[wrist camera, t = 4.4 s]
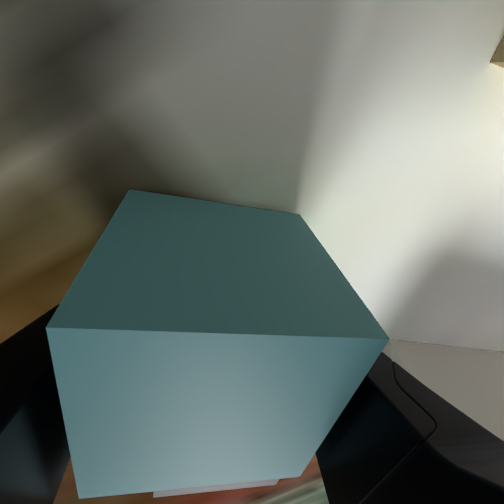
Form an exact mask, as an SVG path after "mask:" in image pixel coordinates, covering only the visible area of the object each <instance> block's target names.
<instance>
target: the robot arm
mask: <svg viewBox="0 0 504 504" xmlns="http://www.w3.org/2000/svg"><path fill="white" fill-rule="evenodd" d="M59 305H60V304H58V305H57V306H55V307H54V308H52V309H51V310H49V311H48V312H46V313H45V314H43V315H42V316H41V317H39V318H38V319H36V320H35V321H33V322H32V323H30V324H29V325H27V326H26V327H24V328H23V329H21V330H20V331H18V332H17V333H15V334H14V335H13V336H11V337H10V338H8V339H7V340H5V341H4V342H2V343H1V344H0V504H53V502H54V499H55V496H56V494H57V491H58V488H59V486H60V483H61V481H62V478H63V475H64V473H65V470H66V467H67V465H68V462H69V459H70V457H71V455H70V450H69V445H68V440H67V434H66V429H65V424H64V419H63V414H62V409H61V403H60V398H59V393H58V388H57V383H56V378H55V372H54V367H53V362H52V357H51V352H50V347H49V341H48V336H47V331H46V326H47V325H48V323H49V321H50V320H51V318H52V316H53V315H54V313H55V311H56V310H57V308H58V306H59ZM315 453H316V457H317V460H318V464H319V468H320V471H321V475H322V479H323V482H324V486H325V490H326V493H327V497H328V501H329V504H504V441H503V440H501V439H500V438H498V437H497V436H495V435H494V434H493V433H491V432H490V431H488V430H487V429H485V428H484V427H483V426H481V425H480V424H478V423H477V422H476V421H474V420H473V419H471V418H470V417H469V416H467V415H466V414H464V413H463V412H462V411H460V410H459V409H457V408H456V407H454V406H453V405H452V404H450V403H449V402H447V401H446V400H445V399H443V398H442V397H440V396H439V395H438V394H436V393H435V392H434V391H432V390H431V389H429V388H428V387H427V386H425V385H424V384H423V383H421V382H420V381H419V380H417V379H416V378H415V377H414V376H412V375H411V374H410V373H408V372H407V371H406V370H405V369H403V368H402V367H401V366H400V365H398V364H397V363H396V362H395V361H392V359H391V358H389V357H388V356H387V355H386V354H384V353H383V352H381V353H380V355H379V356H378V358H377V359H376V361H375V362H374V364H373V365H372V367H371V368H370V370H369V372H368V373H367V375H366V376H365V378H364V379H363V381H362V382H361V384H360V385H359V387H358V388H357V390H356V391H355V393H354V394H353V396H352V397H351V399H350V401H349V402H348V404H347V405H346V407H345V408H344V410H343V411H342V413H341V414H340V416H339V417H338V419H337V420H336V422H335V423H334V425H333V426H332V428H331V430H330V431H329V433H328V434H327V436H326V437H325V439H324V440H323V442H322V443H321V445H320V446H319V448H318V449H317V451H316V452H315Z"/></svg>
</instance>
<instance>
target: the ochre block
mask: <svg viewBox="0 0 504 504" xmlns="http://www.w3.org/2000/svg"><path fill="white" fill-rule="evenodd" d="M490 63H492V64H495V65H498V66H501V67H503V68H504V37H503V39H502V41H501V42H500V44H499V46H498V48H497V50H496V52H495V54H494V55H493V57H492V59H491V61H490Z"/></svg>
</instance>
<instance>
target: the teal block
mask: <svg viewBox="0 0 504 504" xmlns="http://www.w3.org/2000/svg"><path fill="white" fill-rule="evenodd" d="M46 331H47V336H48V341H49V347H50V352H51V357H52V362H53V367H54V372H55V378H56V383H57V388H58V393H59V398H60V403H61V409H62V414H63V419H64V424H65V429H66V434H67V440H68V445H69V450H70V455H71V460H72V466H73V471H74V476H75V481H76V486H77V491H78V497H79V499H81V498H91V497H101V496H111V495H121V494H131V493H141V492H151V491H161V490H171V489H181V488H191V487H201V486H211V485H221V484H231V483H241V482H251V481H261V480H271V479H281V478H291V477H300V475H301V474H302V472H303V471H304V469H305V468H306V466H307V465H308V463H309V462H310V460H311V458H312V457H313V455H314V454H315V452H316V451H317V449H318V448H319V446H320V445H321V443H322V442H323V440H324V439H325V437H326V436H327V434H328V433H329V431H330V430H331V428H332V426H333V425H334V423H335V422H336V420H337V419H338V417H339V416H340V414H341V413H342V411H343V410H344V408H345V407H346V405H347V404H348V402H349V401H350V399H351V397H352V396H353V394H354V393H355V391H356V390H357V388H358V387H359V385H360V384H361V382H362V381H363V379H364V378H365V376H366V375H367V373H368V372H369V370H370V368H371V367H372V365H373V364H374V362H375V361H376V359H377V358H378V356H379V355H380V353H381V352H382V350H383V349H384V347H385V346H386V344H387V343H388V341H389V337H388V336H387V335H386V333H385V332H384V330H383V329H382V328H381V326H380V325H379V323H378V322H377V321H376V319H375V318H374V317H373V315H372V314H371V312H370V311H369V310H368V308H367V307H366V306H365V304H364V303H363V301H362V300H361V299H360V297H359V296H358V294H357V293H356V292H355V290H354V289H353V288H352V286H351V285H350V283H349V282H348V281H347V279H346V278H345V276H344V275H343V274H342V272H341V271H340V270H339V268H338V267H337V265H336V264H335V263H334V261H333V260H332V259H331V257H330V256H329V254H328V253H327V252H326V250H325V249H324V247H323V246H322V245H321V243H320V242H319V241H318V239H317V238H316V236H315V235H314V234H313V232H312V231H311V230H310V228H309V227H308V225H307V224H306V223H305V221H304V220H303V218H302V217H301V216H300V215H299V214H292V213H286V212H279V211H272V210H266V209H259V208H252V207H245V206H239V205H232V204H225V203H219V202H212V201H205V200H198V199H192V198H185V197H178V196H172V195H165V194H158V193H152V192H145V191H138V190H131V189H129V190H128V192H127V194H126V195H125V197H124V199H123V200H122V202H121V204H120V205H119V207H118V209H117V210H116V212H115V214H114V215H113V217H112V219H111V220H110V222H109V224H108V225H107V227H106V229H105V230H104V232H103V233H102V235H101V237H100V238H99V240H98V242H97V243H96V245H95V247H94V248H93V250H92V252H91V253H90V255H89V257H88V258H87V260H86V262H85V263H84V265H83V267H82V268H81V270H80V272H79V273H78V275H77V277H76V278H75V280H74V282H73V283H72V285H71V287H70V288H69V290H68V292H67V293H66V295H65V297H64V298H63V300H62V301H61V303H60V305H59V306H58V308H57V310H56V311H55V313H54V315H53V316H52V318H51V320H50V321H49V323H48V325H47V326H46Z"/></svg>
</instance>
